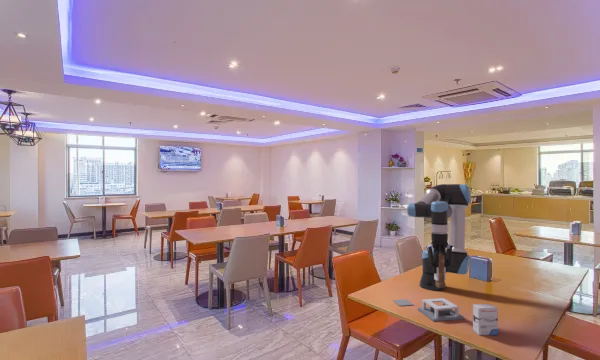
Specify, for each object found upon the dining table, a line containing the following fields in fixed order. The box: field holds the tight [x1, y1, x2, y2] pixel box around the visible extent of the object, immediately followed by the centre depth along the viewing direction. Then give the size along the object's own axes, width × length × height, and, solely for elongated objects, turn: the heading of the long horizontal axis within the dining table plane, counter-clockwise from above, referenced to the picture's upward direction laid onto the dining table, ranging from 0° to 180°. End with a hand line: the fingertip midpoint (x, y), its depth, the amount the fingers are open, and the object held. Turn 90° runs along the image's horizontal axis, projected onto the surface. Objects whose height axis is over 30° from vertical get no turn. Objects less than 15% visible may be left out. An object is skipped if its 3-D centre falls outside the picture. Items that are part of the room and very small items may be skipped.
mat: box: [392, 298, 414, 307], centre depth 175 cm, size 8×8×1 cm
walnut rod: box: [435, 254, 446, 288], centre depth 160 cm, size 3×3×16 cm
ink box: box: [472, 303, 499, 336], centre depth 140 cm, size 8×5×12 cm, turn 92°
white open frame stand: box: [417, 297, 465, 322], centre depth 160 cm, size 16×14×6 cm
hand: (439, 279), depth 160 cm, fingers closed on walnut rod, 3 cm apart
